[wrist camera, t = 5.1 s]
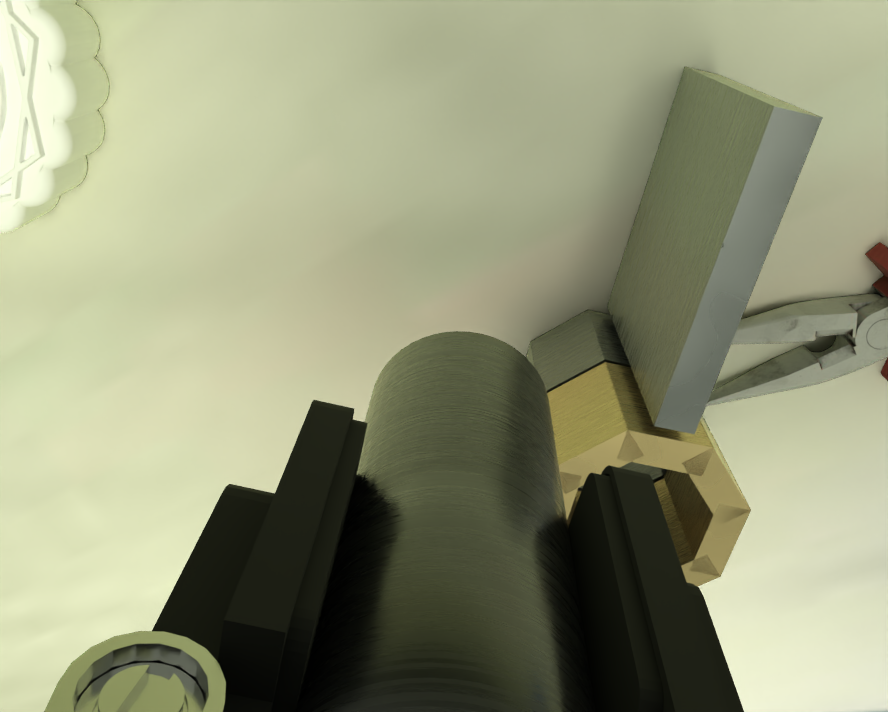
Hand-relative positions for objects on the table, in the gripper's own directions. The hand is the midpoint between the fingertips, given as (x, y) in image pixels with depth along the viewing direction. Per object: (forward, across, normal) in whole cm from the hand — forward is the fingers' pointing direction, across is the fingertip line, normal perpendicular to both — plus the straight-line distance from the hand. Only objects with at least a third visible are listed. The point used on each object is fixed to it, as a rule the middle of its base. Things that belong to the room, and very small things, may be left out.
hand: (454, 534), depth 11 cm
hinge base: (+21, -7, +2) cm, 22 cm away
